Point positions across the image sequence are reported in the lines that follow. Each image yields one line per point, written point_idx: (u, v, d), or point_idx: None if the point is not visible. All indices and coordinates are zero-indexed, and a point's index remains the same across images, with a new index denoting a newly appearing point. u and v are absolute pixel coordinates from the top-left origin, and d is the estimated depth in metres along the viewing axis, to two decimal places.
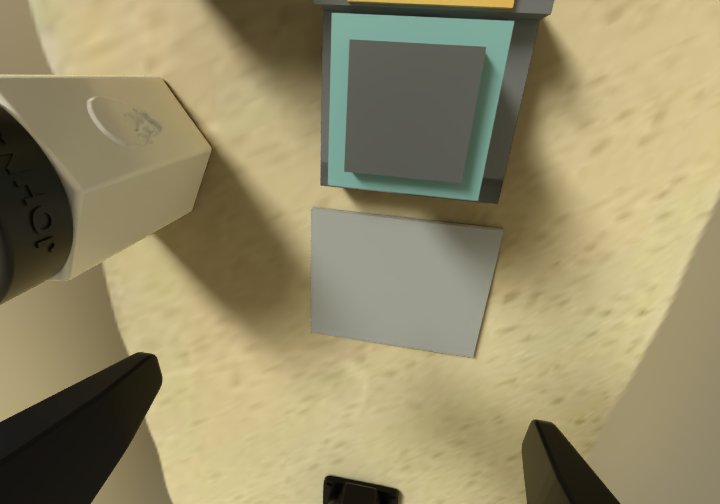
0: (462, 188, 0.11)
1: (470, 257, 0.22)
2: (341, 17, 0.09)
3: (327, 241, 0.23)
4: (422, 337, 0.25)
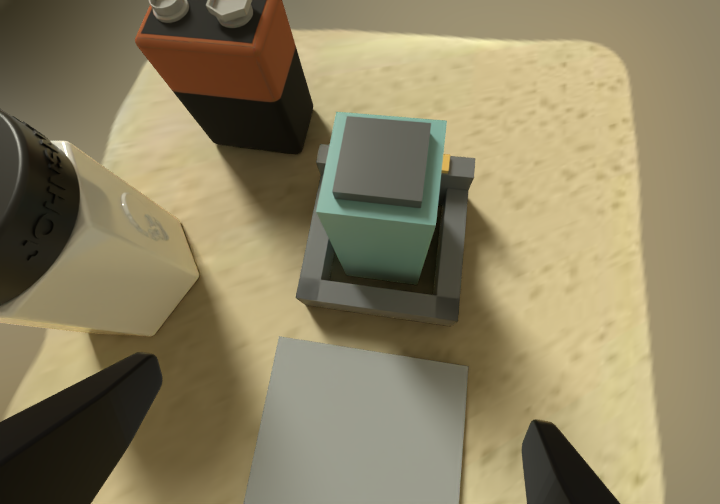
0: (422, 215, 0.13)
1: (438, 396, 0.20)
2: (342, 113, 0.15)
3: (289, 372, 0.21)
4: None
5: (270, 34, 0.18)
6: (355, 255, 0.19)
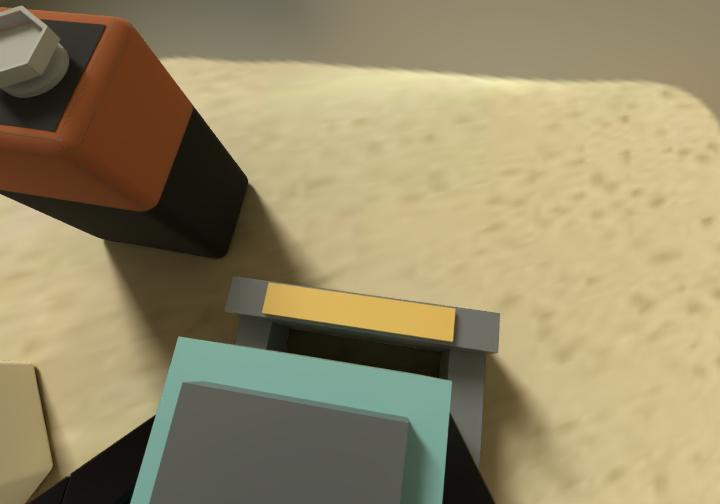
0: None
1: None
2: (190, 344, 0.06)
3: None
4: None
5: (107, 107, 0.09)
6: None
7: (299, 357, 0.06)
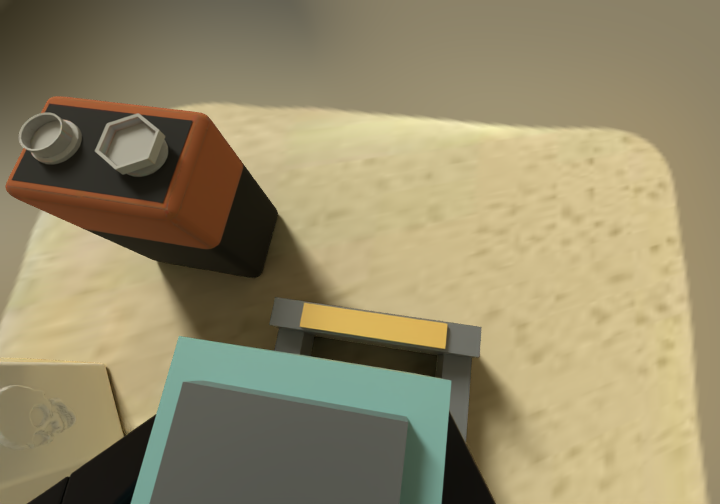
0: None
1: None
2: (190, 344, 0.06)
3: None
4: None
5: (194, 181, 0.13)
6: None
7: (299, 356, 0.06)
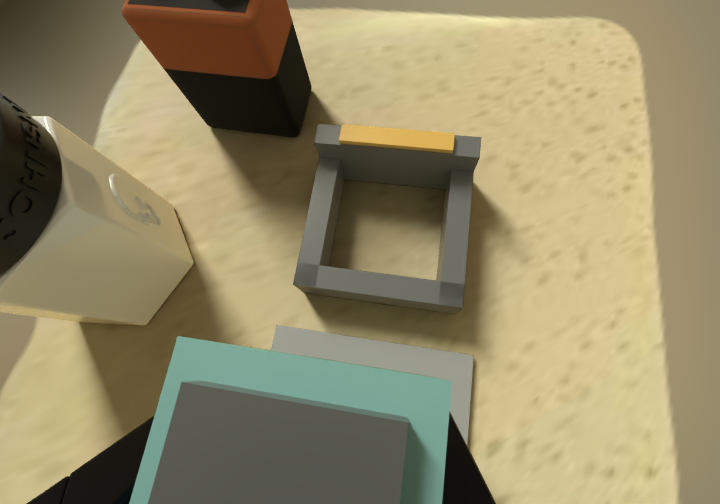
0: None
1: None
2: (189, 344, 0.06)
3: None
4: None
5: (265, 4, 0.17)
6: None
7: (299, 356, 0.06)
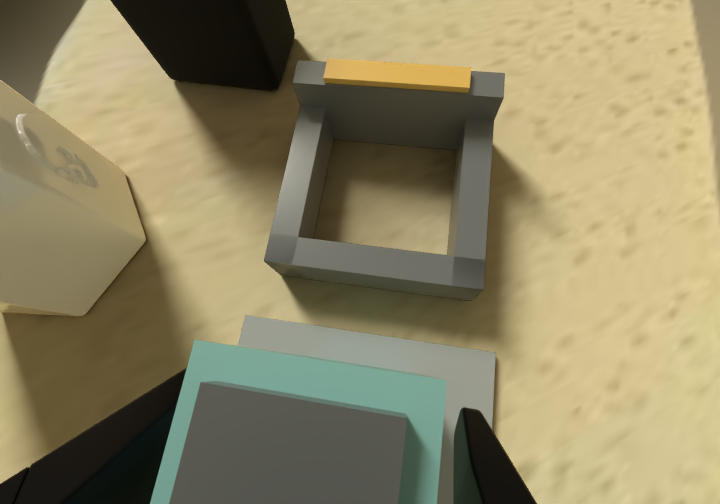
0: None
1: (456, 393, 0.15)
2: (205, 347, 0.07)
3: None
4: None
5: None
6: None
7: (306, 358, 0.06)
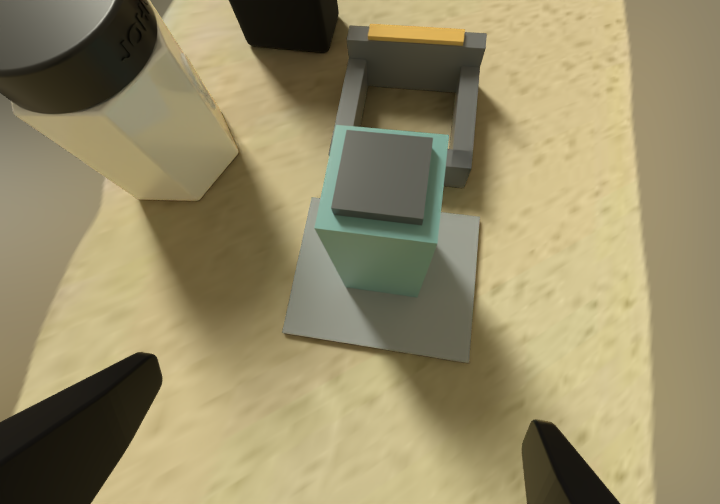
0: (424, 233, 0.13)
1: (453, 241, 0.23)
2: (341, 126, 0.15)
3: None
4: (410, 335, 0.22)
5: None
6: (354, 269, 0.18)
7: (387, 129, 0.14)
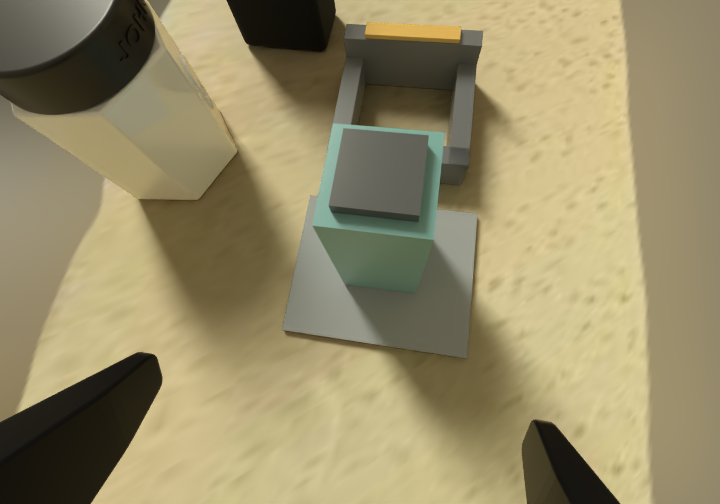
0: (420, 229, 0.13)
1: (451, 237, 0.24)
2: (338, 125, 0.15)
3: None
4: (409, 331, 0.22)
5: None
6: (352, 266, 0.18)
7: None
